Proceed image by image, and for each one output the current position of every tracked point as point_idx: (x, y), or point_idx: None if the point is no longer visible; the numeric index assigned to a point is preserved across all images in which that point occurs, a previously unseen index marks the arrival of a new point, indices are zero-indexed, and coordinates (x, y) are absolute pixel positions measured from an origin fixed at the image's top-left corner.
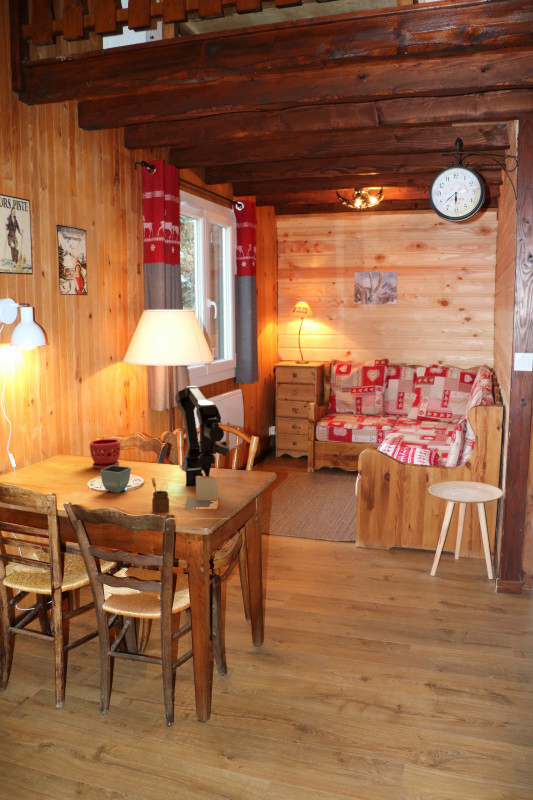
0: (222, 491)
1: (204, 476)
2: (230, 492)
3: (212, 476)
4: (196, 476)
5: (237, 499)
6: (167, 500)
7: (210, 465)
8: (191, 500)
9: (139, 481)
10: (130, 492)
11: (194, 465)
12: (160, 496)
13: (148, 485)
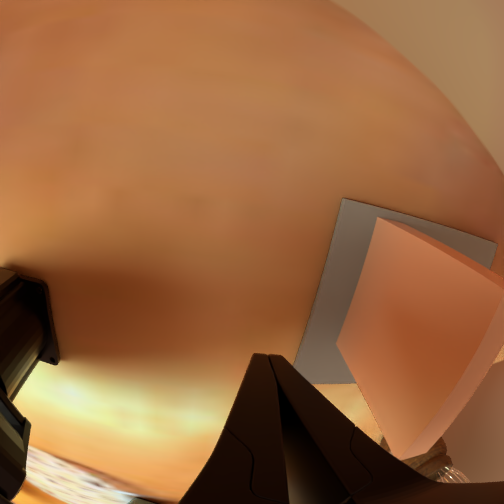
0: (155, 139)
1: (446, 410)
2: (196, 80)
3: (486, 342)
4: (406, 457)
5: (382, 78)
6: (444, 443)
7: (412, 474)
8: (345, 364)
9: (41, 455)
10: (162, 494)
11: (3, 432)
12: (447, 467)
13: (73, 454)
